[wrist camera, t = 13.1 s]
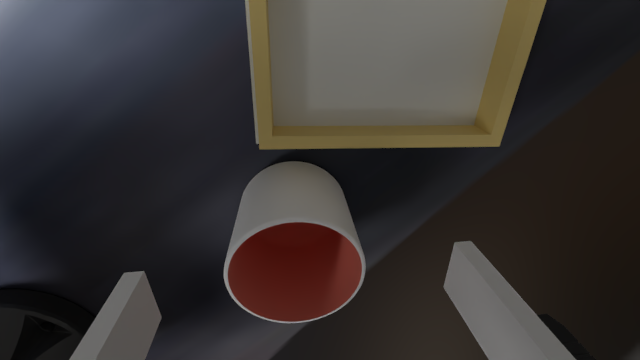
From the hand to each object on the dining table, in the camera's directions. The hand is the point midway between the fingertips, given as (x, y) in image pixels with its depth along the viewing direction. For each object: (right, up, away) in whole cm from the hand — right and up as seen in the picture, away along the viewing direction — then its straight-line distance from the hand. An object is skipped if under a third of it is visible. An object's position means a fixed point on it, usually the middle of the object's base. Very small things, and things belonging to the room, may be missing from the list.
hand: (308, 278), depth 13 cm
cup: (-2, +2, +17) cm, 17 cm away
